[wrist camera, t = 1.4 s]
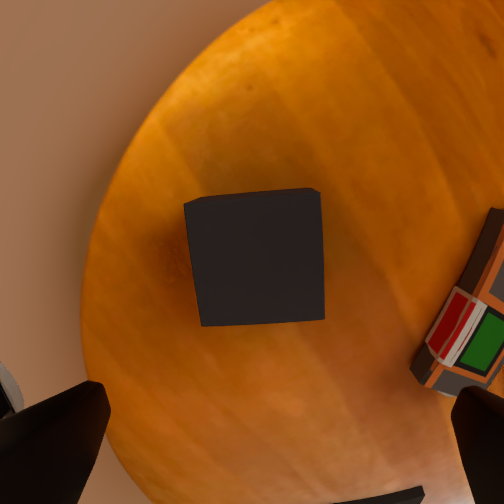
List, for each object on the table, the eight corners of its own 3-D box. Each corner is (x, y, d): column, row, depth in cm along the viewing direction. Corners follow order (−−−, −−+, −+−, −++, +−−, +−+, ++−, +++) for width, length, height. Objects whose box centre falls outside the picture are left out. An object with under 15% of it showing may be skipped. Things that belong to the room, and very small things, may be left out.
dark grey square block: (213, 300, 19) (201, 327, 16) (199, 197, 18) (183, 203, 14) (316, 293, 19) (325, 319, 15) (311, 187, 17) (320, 191, 14)
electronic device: (568, 226, 14) (476, 408, 17) (544, 220, 17) (460, 388, 20) (523, 176, 14) (417, 392, 17) (496, 175, 17) (402, 369, 20)
